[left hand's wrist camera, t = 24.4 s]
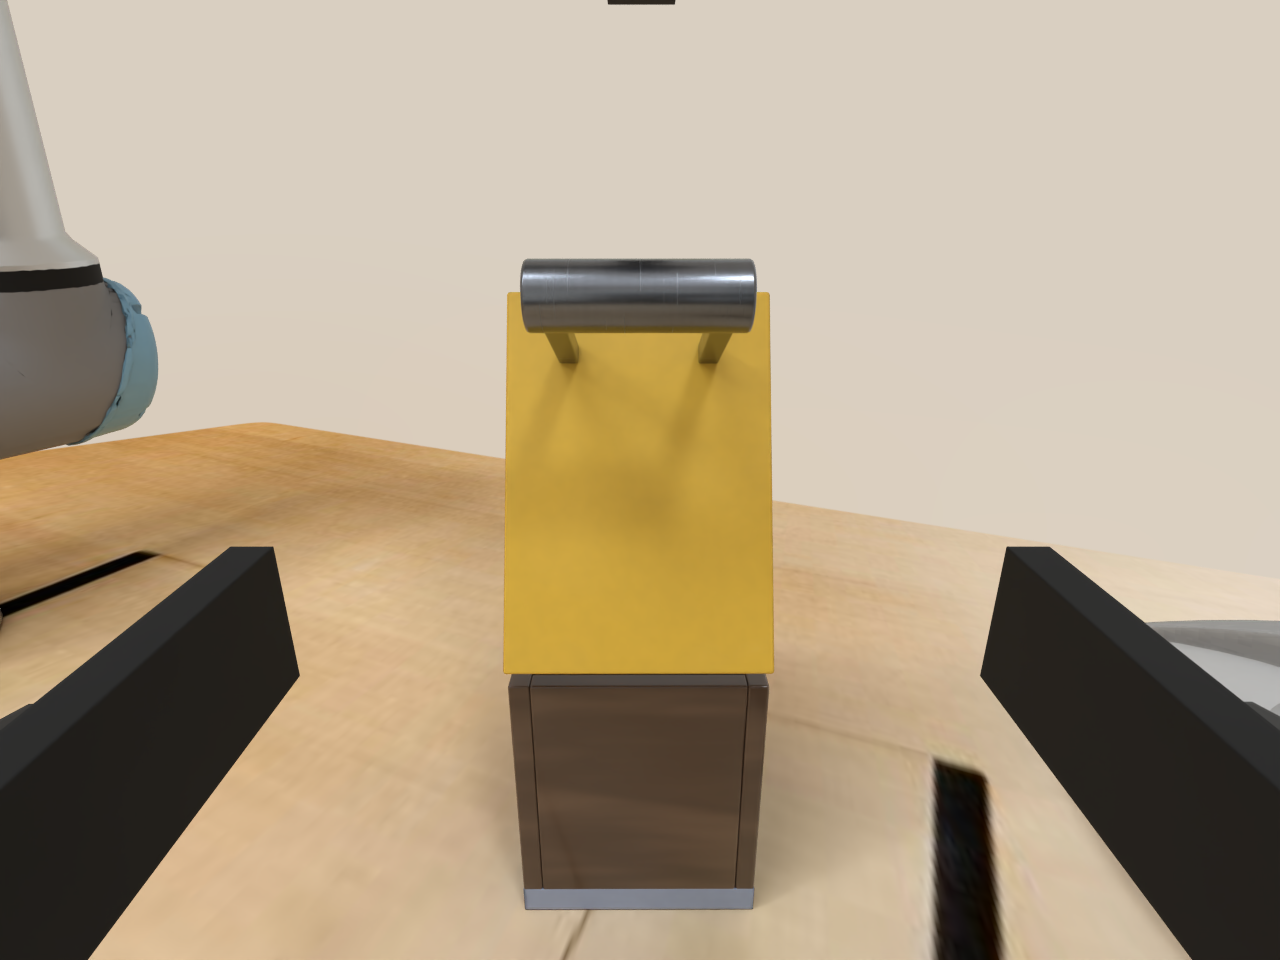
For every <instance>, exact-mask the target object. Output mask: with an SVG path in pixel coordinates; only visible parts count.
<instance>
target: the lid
mask: <svg viewBox="0 0 1280 960" xmlns="http://www.w3.org/2000/svg"><path fill="white" fill-rule="evenodd" d="M770 371H771V369H770V295H769V293H768V292H757V278H756V269H755V265H754V262H753V260H751V259H526V260H524V261H523V264H522V268H521V277H520V292H510V293H508V295H507V373H506V374H507V375H506V468H505V563H504V659H503V672H504V673H505V674H772V673H773V672H774V619H773V536H772V454H771V372H770Z"/></svg>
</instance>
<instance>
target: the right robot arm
mask: <svg viewBox="0 0 1280 960" xmlns="http://www.w3.org/2000/svg"><path fill="white" fill-rule="evenodd" d="M608 4H675V0H608ZM157 379H158V355H157V347H156V342H155V338H154V334H153V330H152V327H151V325H150V322H149V320H148V317H147V316H145V315H142V314H141V304H140V303H139V301H138V300H137V298H136V297H135V296H134V295H133V293H132V292H130V291H129V290H128V289H127V288H126V287H124V286H123V285H121V284H119V283H117V282H115V281H111V280H109V279H107V278H103V276H102V272H101V268H100V264H99V260H98V257H96V256H95V255H94V254H92V253H91V252H90V251H88V250H87V249H85V248H84V247H82V246H81V245H80V244H78V243H77V242H75V241H74V240H73V239H72V238H71V237H70V236H69V235H68V234H67V233H66V232H65V229H64V225H63V221H62V217H61V213H60V209H59V205H58V201H57V197H56V193H55V189H54V185H53V181H52V177H51V173H50V169H49V165H48V161H47V157H46V153H45V149H44V145H43V141H42V137H41V133H40V129H39V125H38V121H37V117H36V113H35V109H34V106H33V102H32V98H31V94H30V90H29V86H28V82H27V78H26V74H25V70H24V66H23V62H22V58H21V54H20V50H19V46H18V42H17V38H16V34H15V30H14V26H13V22H12V18H11V14H10V10H9V6H8V2H7V0H0V459H5V458H9V457H13V456H18V455H22V454H26V453H30V452H35V451H39V450H43V449H48V448H52V447H56V446H61V445H65V444H66V445H77V444H80V443H84V442H86V441H88V440H90V439H92V438H94V437H97V436H100V435H104V434H107V433H111V432H114V431H118V430H122V429H124V428H127V427H129V426H130V425H132V424H134V423H135V422H136V421H138V420H139V419H140V418H141V417H142V415H143V414H144V412H145V410H146V408H147V407H149V405H150V404H151V402H152V399H153V396H154V393H155V390H156V385H157ZM1 621H2V612H1V609H0V624H1Z"/></svg>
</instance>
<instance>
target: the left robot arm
mask: <svg viewBox="0 0 1280 960" xmlns="http://www.w3.org/2000/svg"><path fill="white" fill-rule="evenodd" d="M299 676H300V674H299V669H298V665H297V660H296V655H295V650H294V645H293V640H292V635H291V631H290V626H289V621H288V616H287V611H286V606H285V601H284V596H283V592H282V587H281V582H280V577H279V572H278V567H277V562H276V558H275V553H274V548H273V547H230V548H228V549H227V550H226V551H225V552H223V553H222V554H221V555H219V556H218V557H217V558H216V559H214V560H213V561H212V562H211V563H209V564H208V565H207V566H206V567H204V568H203V569H202V570H201V571H199V572H198V573H197V574H196V575H194V576H193V577H192V578H191V579H189V580H188V581H187V582H186V583H184V584H183V585H182V586H181V587H179V588H178V589H177V590H176V591H174V592H173V593H172V594H171V595H169V596H168V597H167V598H166V599H164V600H163V601H162V602H161V603H159V604H158V605H157V606H156V607H154V608H153V609H152V610H151V611H149V612H148V613H147V614H146V615H144V616H143V617H142V618H141V619H139V620H138V621H137V622H135V623H134V624H133V625H132V626H130V627H129V628H128V629H127V630H125V631H124V632H123V633H122V634H120V635H119V636H118V637H117V638H115V639H114V640H113V641H112V642H110V643H109V644H108V645H107V646H105V647H104V648H103V649H102V650H100V651H99V652H98V653H97V654H95V655H94V656H93V657H92V658H90V659H89V660H88V661H87V662H85V663H84V664H83V665H82V666H80V667H79V668H78V669H77V670H75V671H74V672H73V673H72V674H70V675H69V676H68V677H67V678H65V679H64V680H63V681H62V682H60V683H59V684H58V685H57V686H55V687H54V688H53V689H51V690H50V691H49V692H48V693H46V694H45V695H44V696H43V697H41V698H40V699H39V700H38V701H36V702H35V703H34V704H28V705H26V706H24V707H22V708H20V709H19V710H17V711H15V712H13V713H11V714H9V715H7V716H5V717H4V718H2V719H0V960H88V959H89V957H90V956H91V955H92V953H93V952H94V951H95V949H96V948H97V947H98V945H99V944H100V943H101V941H102V940H103V939H104V937H105V936H106V935H107V933H108V932H109V931H110V929H111V928H112V927H113V925H114V924H115V923H116V921H117V920H118V919H119V917H120V916H121V915H122V913H123V912H124V911H125V909H126V908H127V907H128V905H129V904H130V903H131V901H132V900H133V898H134V897H135V896H136V894H137V893H138V892H139V890H140V889H141V888H142V886H143V885H144V884H145V882H146V881H147V880H148V878H149V877H150V876H151V874H152V873H153V872H154V870H155V869H156V868H157V866H158V865H159V864H160V862H161V861H162V860H163V858H164V857H165V856H166V854H167V853H168V852H169V850H170V849H171V848H172V846H173V845H174V844H175V842H176V841H177V840H178V838H179V837H180V836H181V834H182V833H183V832H184V830H185V829H186V828H187V826H188V825H189V823H190V822H191V821H192V819H193V818H194V817H195V815H196V814H197V813H198V811H199V810H200V809H201V807H202V806H203V805H204V803H205V802H206V801H207V799H208V798H209V797H210V795H211V794H212V793H213V791H214V790H215V789H216V787H217V786H218V785H219V783H220V782H221V781H222V779H223V778H224V777H225V775H226V774H227V773H228V771H229V770H230V769H231V767H232V766H233V765H234V763H235V762H236V761H237V759H238V758H239V757H240V755H241V754H242V752H243V751H244V750H245V748H246V747H247V746H248V744H249V743H250V742H251V740H252V739H253V738H254V736H255V735H256V734H257V732H258V731H259V730H260V728H261V727H262V726H263V724H264V723H265V722H266V720H267V719H268V718H269V716H270V715H271V714H272V712H273V711H274V710H275V708H276V707H277V706H278V704H279V703H280V702H281V700H282V699H283V698H284V696H285V695H286V694H287V692H288V691H289V690H290V688H291V687H292V686H293V684H294V683H295V682H296V680H297V679H298V677H299ZM980 676H981V677H982V679H983V680H984V682H985V683H986V684H987V686H988V687H989V688H990V690H991V691H992V692H993V694H994V695H995V696H996V698H997V699H998V700H999V702H1000V703H1001V704H1002V706H1003V707H1004V708H1005V710H1006V711H1007V712H1008V714H1009V715H1010V716H1011V718H1012V719H1013V720H1014V722H1015V723H1016V724H1017V726H1018V727H1019V728H1020V730H1021V731H1022V732H1023V734H1024V735H1025V736H1026V738H1027V739H1028V740H1029V742H1030V743H1031V744H1032V746H1033V747H1034V748H1035V750H1036V751H1037V752H1038V754H1039V755H1040V757H1041V758H1042V759H1043V761H1044V762H1045V763H1046V765H1047V766H1048V767H1049V769H1050V770H1051V771H1052V773H1053V774H1054V775H1055V777H1056V778H1057V779H1058V781H1059V782H1060V783H1061V785H1062V786H1063V787H1064V789H1065V790H1066V791H1067V793H1068V794H1069V795H1070V797H1071V798H1072V799H1073V801H1074V802H1075V803H1076V805H1077V806H1078V807H1079V809H1080V810H1081V811H1082V813H1083V814H1084V815H1085V817H1086V818H1087V819H1088V821H1089V822H1090V823H1091V825H1092V826H1093V828H1094V829H1095V830H1096V832H1097V833H1098V834H1099V836H1100V837H1101V838H1102V840H1103V841H1104V842H1105V844H1106V845H1107V846H1108V848H1109V849H1110V850H1111V852H1112V853H1113V854H1114V856H1115V857H1116V858H1117V860H1118V861H1119V862H1120V864H1121V865H1122V866H1123V868H1124V869H1125V870H1126V872H1127V873H1128V874H1129V876H1130V877H1131V878H1132V880H1133V881H1134V882H1135V884H1136V885H1137V886H1138V888H1139V889H1140V890H1141V892H1142V893H1143V894H1144V896H1145V897H1146V898H1147V900H1148V901H1149V903H1150V904H1151V905H1152V907H1153V908H1154V909H1155V911H1156V912H1157V913H1158V915H1159V916H1160V917H1161V919H1162V920H1163V921H1164V923H1165V924H1166V925H1167V927H1168V928H1169V929H1170V931H1171V932H1172V933H1173V935H1174V936H1175V937H1176V939H1177V940H1178V941H1179V943H1180V944H1181V945H1182V947H1183V948H1184V949H1185V951H1186V952H1187V953H1188V955H1189V956H1190V957H1191V959H1192V960H1280V716H1278V715H1277V714H1275V713H1273V712H1271V711H1269V710H1267V709H1265V708H1263V707H1261V706H1260V705H1258V704H1256V703H1254V702H1244V701H1242V700H1241V699H1240V698H1239V697H1237V696H1236V695H1235V694H1234V693H1232V692H1231V691H1230V690H1229V689H1227V688H1226V687H1225V686H1223V685H1222V684H1221V683H1220V682H1218V681H1217V680H1216V679H1215V678H1213V677H1212V676H1211V675H1210V674H1208V673H1207V672H1206V671H1205V670H1203V669H1202V668H1201V667H1200V666H1198V665H1197V664H1196V663H1195V662H1193V661H1192V660H1191V659H1190V658H1188V657H1187V656H1186V655H1185V654H1183V653H1182V652H1181V651H1180V650H1178V649H1177V648H1176V647H1175V646H1173V645H1172V644H1171V643H1170V642H1168V641H1167V640H1166V639H1165V638H1163V637H1162V636H1161V635H1160V634H1158V633H1157V632H1156V631H1155V630H1153V629H1152V628H1151V627H1150V626H1148V625H1147V624H1146V623H1145V622H1143V621H1142V620H1141V619H1139V618H1138V617H1137V616H1136V615H1134V614H1133V613H1132V612H1131V611H1129V610H1128V609H1127V608H1126V607H1124V606H1123V605H1122V604H1121V603H1119V602H1118V601H1117V600H1116V599H1114V598H1113V597H1112V596H1111V595H1109V594H1108V593H1107V592H1106V591H1104V590H1103V589H1102V588H1101V587H1099V586H1098V585H1097V584H1096V583H1094V582H1093V581H1092V580H1091V579H1089V578H1088V577H1087V576H1086V575H1084V574H1083V573H1082V572H1081V571H1079V570H1078V569H1077V568H1076V567H1074V566H1073V565H1072V564H1071V563H1069V562H1068V561H1067V560H1066V559H1064V558H1063V557H1062V556H1061V555H1059V554H1058V553H1057V552H1055V551H1054V550H1053V549H1052V548H1050V547H1007V548H1006V553H1005V558H1004V562H1003V567H1002V572H1001V577H1000V582H999V587H998V592H997V596H996V601H995V606H994V611H993V616H992V621H991V626H990V631H989V635H988V640H987V645H986V650H985V655H984V660H983V665H982V669H981V674H980Z"/></svg>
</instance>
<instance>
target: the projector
mask: <svg viewBox="0 0 1280 960" xmlns="http://www.w3.org/2000/svg"><path fill="white" fill-rule="evenodd" d="M1146 624H1147V625H1148V626H1150V627H1151V628H1152V629H1153V630H1155V631H1156V632H1157V633H1158V634H1160V635H1161V636H1162V637H1163V638H1165V639H1166V640H1167V641H1168V642H1170V643H1171V644H1172V645H1173V646H1175V647H1176V648H1177V649H1178V650H1180V651H1181V652H1182V653H1183V654H1185V655H1186V656H1187V657H1188V658H1190V659H1191V660H1192V661H1193V662H1195V663H1196V664H1197V665H1198V666H1200V667H1201V668H1202V669H1203V670H1205V671H1206V672H1207V673H1208V674H1210V675H1211V676H1212V677H1213V678H1215V679H1216V680H1217V681H1218V682H1220V683H1221V684H1222V685H1223V686H1225V687H1226V688H1227V689H1229V690H1230V691H1231V692H1232V693H1234V694H1235V695H1236V696H1237V697H1239V698H1240V699H1241V700H1242V701H1244V702H1254V703H1256V704H1258V705H1260V706H1261V707H1263V708H1265V709H1267V710H1269V711H1271V712H1273V713H1275V714H1277V715H1278V716H1280V621H1259V620H1197V621H1167V622H1149V623H1146Z"/></svg>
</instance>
